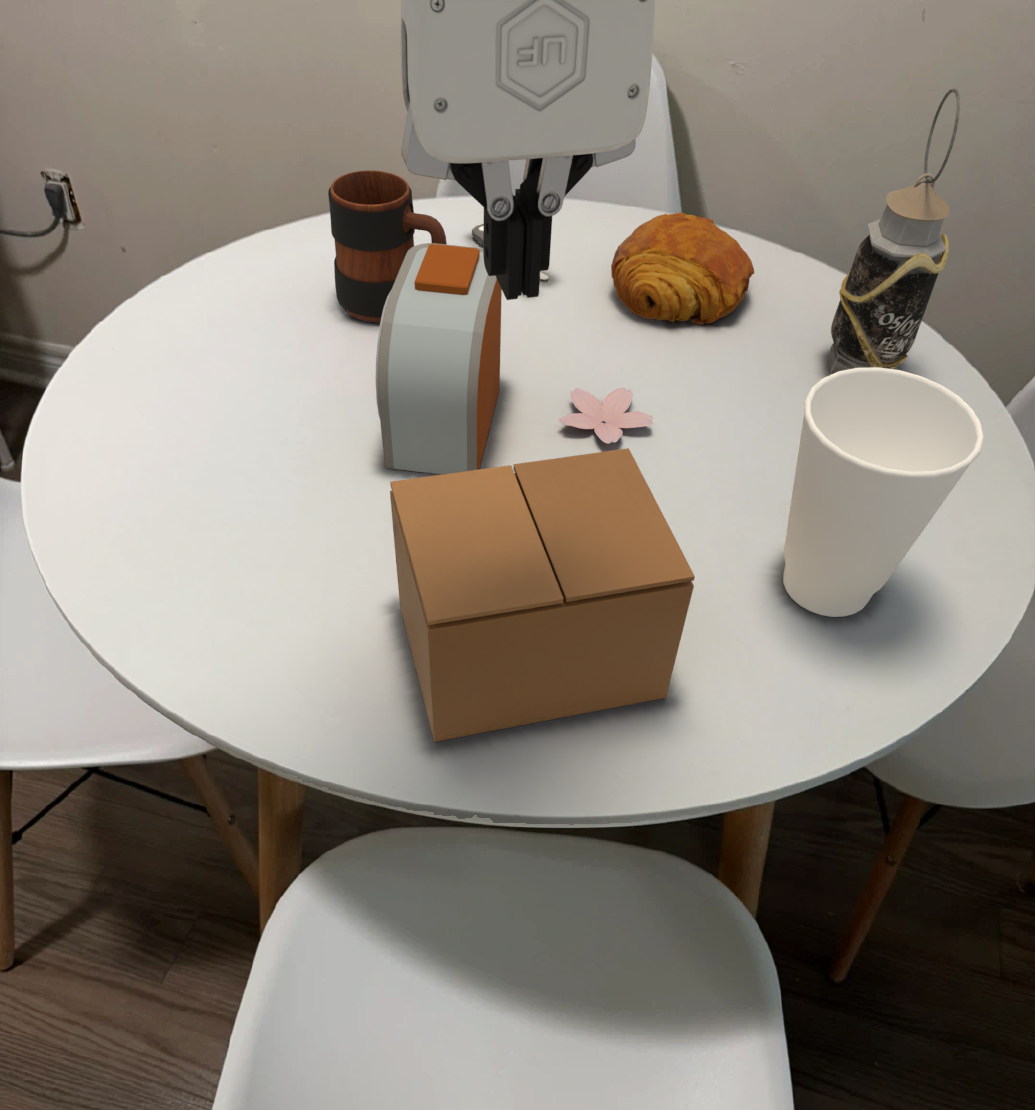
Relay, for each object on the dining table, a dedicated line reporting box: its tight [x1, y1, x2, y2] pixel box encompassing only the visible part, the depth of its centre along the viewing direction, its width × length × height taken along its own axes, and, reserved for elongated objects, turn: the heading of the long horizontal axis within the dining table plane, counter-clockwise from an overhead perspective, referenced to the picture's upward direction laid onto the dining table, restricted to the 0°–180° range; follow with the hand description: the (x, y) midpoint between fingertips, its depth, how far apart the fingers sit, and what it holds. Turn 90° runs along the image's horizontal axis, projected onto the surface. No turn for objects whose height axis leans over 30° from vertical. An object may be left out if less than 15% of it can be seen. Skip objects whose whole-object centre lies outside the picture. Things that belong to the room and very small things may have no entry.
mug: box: [327, 169, 448, 323], centre depth 96 cm, size 9×12×12 cm
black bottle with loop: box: [827, 87, 961, 375], centre depth 87 cm, size 9×8×25 cm
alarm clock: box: [375, 242, 503, 475], centre depth 84 cm, size 15×8×14 cm, turn 172°
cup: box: [782, 367, 985, 618], centre depth 72 cm, size 12×12×16 cm
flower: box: [558, 387, 654, 445], centre depth 89 cm, size 10×10×2 cm
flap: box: [389, 464, 564, 625], centre depth 62 cm, size 8×13×1 cm, turn 15°
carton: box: [389, 448, 696, 743], centre depth 68 cm, size 17×13×12 cm
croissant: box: [610, 212, 755, 325], centre depth 102 cm, size 14×16×8 cm
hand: (515, 283), depth 49 cm, fingers closed
